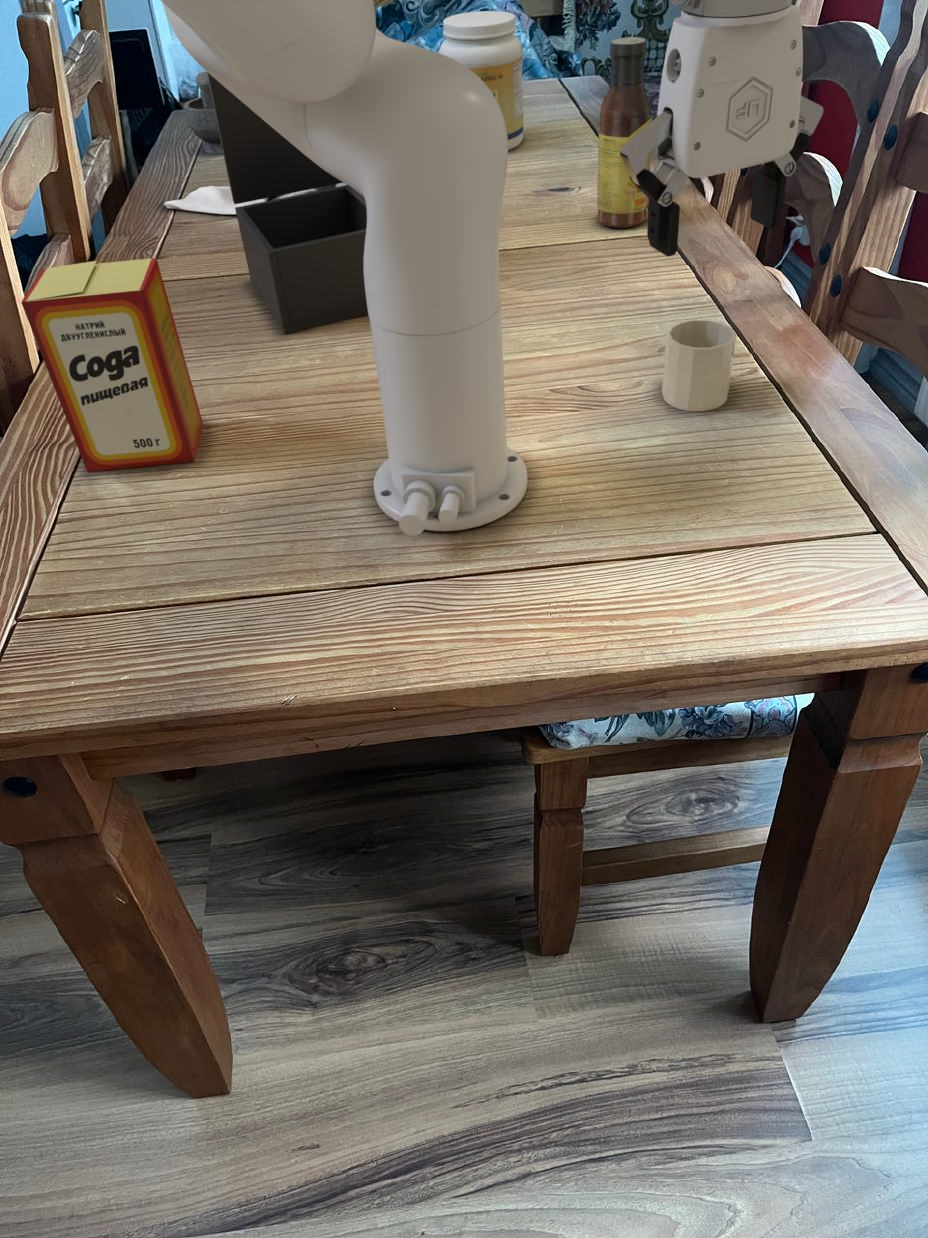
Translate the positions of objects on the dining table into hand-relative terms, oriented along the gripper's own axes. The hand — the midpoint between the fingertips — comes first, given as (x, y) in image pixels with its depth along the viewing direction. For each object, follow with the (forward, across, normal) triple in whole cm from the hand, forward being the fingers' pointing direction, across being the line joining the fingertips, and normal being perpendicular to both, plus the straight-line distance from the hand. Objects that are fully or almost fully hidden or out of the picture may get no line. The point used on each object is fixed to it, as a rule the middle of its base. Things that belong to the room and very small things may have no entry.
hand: (714, 236), depth 78 cm
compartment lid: (-3, -24, +47) cm, 52 cm away
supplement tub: (+15, +14, +81) cm, 84 cm away
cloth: (+14, -24, +77) cm, 82 cm away
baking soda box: (+14, -48, +16) cm, 53 cm away
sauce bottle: (+15, +16, +42) cm, 47 cm away
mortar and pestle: (+14, -22, +104) cm, 108 cm away
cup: (+14, -1, 0) cm, 14 cm away
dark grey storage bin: (+14, -24, +40) cm, 49 cm away
